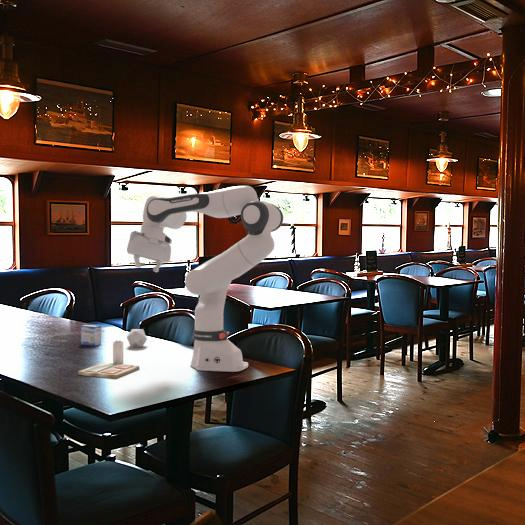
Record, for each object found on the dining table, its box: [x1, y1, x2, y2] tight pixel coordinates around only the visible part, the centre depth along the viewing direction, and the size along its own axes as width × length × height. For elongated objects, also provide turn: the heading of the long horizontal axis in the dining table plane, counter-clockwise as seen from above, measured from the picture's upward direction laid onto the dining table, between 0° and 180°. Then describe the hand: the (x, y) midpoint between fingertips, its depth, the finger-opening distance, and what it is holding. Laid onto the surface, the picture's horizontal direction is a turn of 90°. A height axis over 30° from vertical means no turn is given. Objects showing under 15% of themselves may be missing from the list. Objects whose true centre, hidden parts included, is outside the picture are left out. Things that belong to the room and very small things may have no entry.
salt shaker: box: [112, 339, 124, 364], centre depth 247 cm, size 4×4×9 cm
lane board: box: [77, 362, 140, 380], centre depth 233 cm, size 16×16×2 cm
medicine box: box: [80, 324, 102, 346], centre depth 286 cm, size 8×4×9 cm, turn 68°
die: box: [126, 328, 148, 348], centre depth 282 cm, size 8×9×10 cm
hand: (146, 269), depth 250 cm, fingers open, 8 cm apart
